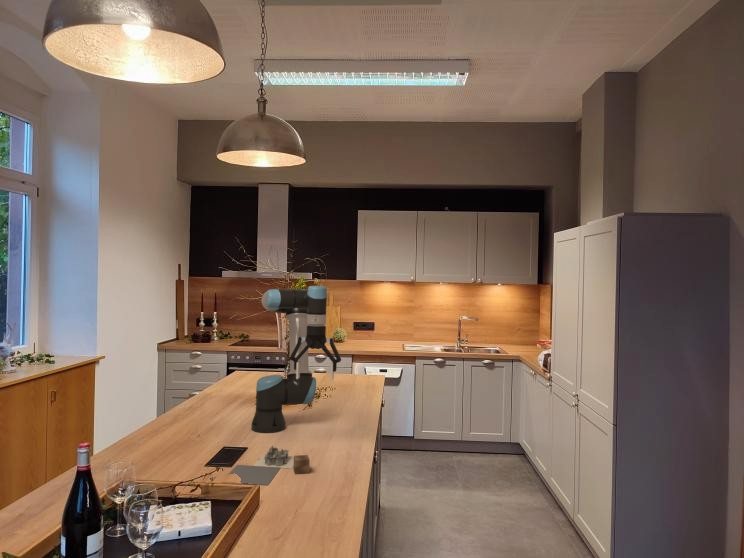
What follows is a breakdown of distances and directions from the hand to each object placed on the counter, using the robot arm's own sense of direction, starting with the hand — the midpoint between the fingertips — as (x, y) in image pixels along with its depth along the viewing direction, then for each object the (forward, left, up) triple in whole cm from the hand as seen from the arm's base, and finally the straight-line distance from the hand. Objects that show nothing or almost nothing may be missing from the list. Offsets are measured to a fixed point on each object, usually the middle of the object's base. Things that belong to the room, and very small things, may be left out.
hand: (314, 379), depth 207 cm
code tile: (-11, -13, -29) cm, 33 cm away
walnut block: (0, -21, -29) cm, 36 cm away
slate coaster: (-16, -27, -29) cm, 42 cm away
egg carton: (-11, -13, -29) cm, 33 cm away
